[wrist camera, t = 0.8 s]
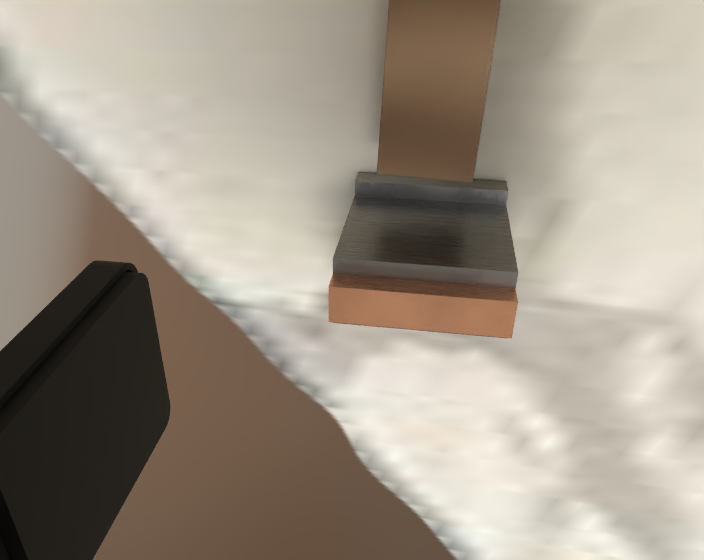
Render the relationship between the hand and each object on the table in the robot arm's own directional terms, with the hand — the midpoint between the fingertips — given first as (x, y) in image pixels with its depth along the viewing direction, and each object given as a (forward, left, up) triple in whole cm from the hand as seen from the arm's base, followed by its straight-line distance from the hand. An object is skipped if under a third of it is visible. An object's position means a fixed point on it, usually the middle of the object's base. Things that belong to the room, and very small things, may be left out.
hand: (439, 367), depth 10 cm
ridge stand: (+7, 0, -21) cm, 22 cm away
